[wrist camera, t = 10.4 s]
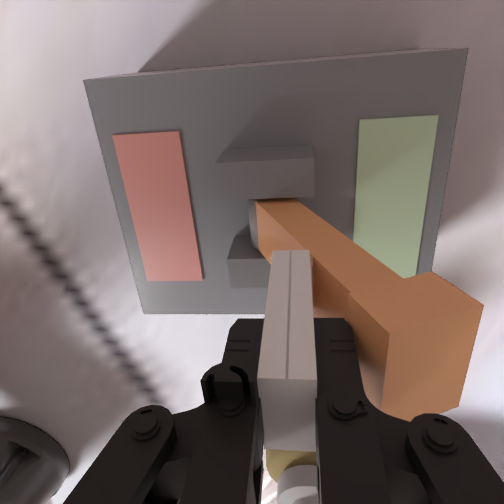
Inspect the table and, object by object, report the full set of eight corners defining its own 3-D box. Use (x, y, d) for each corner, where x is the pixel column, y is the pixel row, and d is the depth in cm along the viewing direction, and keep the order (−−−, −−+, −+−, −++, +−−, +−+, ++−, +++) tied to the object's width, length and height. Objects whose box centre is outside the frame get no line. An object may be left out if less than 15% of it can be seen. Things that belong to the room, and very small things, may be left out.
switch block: (174, 261, 35) (127, 340, 26) (136, 72, 28) (52, 84, 18) (396, 257, 33) (438, 344, 23) (421, 48, 25) (497, 47, 16)
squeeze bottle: (328, 319, 37) (353, 524, 21) (355, 377, 40) (395, 593, 24) (253, 342, 39) (225, 541, 23) (284, 395, 42) (277, 602, 26)
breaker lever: (242, 246, 24) (377, 436, 11) (236, 184, 22) (389, 333, 10) (286, 236, 24) (458, 406, 12) (284, 176, 22) (483, 305, 10)
